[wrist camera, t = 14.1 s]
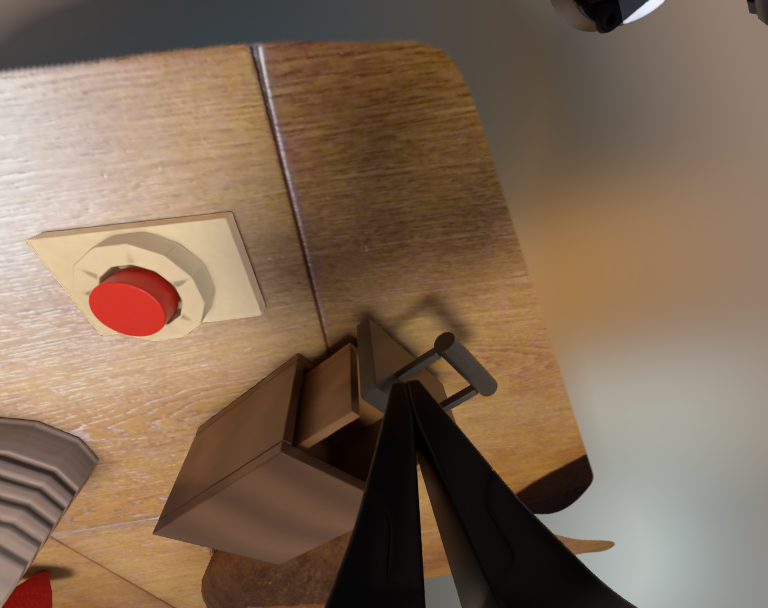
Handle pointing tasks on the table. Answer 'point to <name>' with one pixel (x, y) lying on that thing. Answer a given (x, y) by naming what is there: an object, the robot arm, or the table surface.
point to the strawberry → (32, 593)
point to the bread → (274, 578)
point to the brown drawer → (372, 394)
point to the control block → (160, 266)
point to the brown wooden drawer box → (259, 480)
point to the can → (35, 490)
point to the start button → (134, 302)
